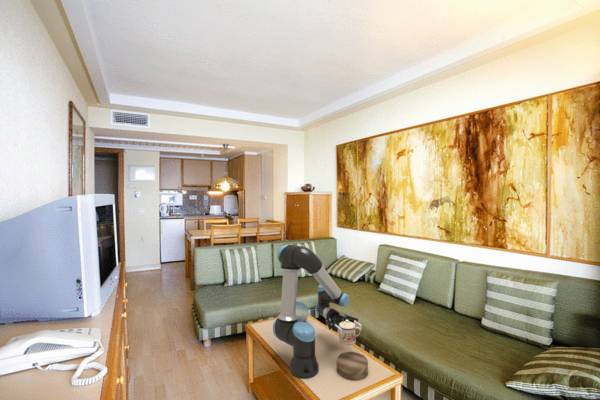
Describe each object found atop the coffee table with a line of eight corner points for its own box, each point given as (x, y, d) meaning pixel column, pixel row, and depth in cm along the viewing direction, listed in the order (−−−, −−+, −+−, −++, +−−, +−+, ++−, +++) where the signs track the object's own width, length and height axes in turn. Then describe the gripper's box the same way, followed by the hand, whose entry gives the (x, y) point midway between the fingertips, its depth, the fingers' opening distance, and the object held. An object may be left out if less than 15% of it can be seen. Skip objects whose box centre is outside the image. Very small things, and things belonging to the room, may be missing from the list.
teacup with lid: (341, 346, 151) (341, 324, 151) (336, 338, 160) (336, 317, 160) (363, 344, 153) (363, 322, 153) (357, 336, 162) (357, 315, 162)
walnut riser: (359, 384, 140) (359, 372, 140) (331, 373, 150) (331, 361, 150) (372, 369, 153) (372, 357, 153) (346, 359, 163) (345, 348, 163)
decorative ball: (312, 322, 212) (312, 301, 212) (299, 329, 201) (298, 307, 201) (297, 316, 222) (297, 297, 222) (283, 323, 211) (283, 303, 210)
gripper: (348, 317, 180) (369, 332, 160) (313, 324, 170) (332, 341, 151) (348, 305, 180) (369, 318, 160) (313, 312, 170) (331, 326, 151)
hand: (351, 329), depth 155 cm, fingers closed on teacup with lid, 12 cm apart
